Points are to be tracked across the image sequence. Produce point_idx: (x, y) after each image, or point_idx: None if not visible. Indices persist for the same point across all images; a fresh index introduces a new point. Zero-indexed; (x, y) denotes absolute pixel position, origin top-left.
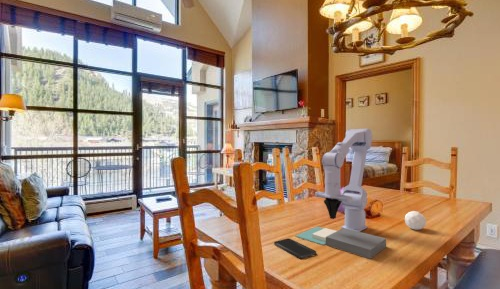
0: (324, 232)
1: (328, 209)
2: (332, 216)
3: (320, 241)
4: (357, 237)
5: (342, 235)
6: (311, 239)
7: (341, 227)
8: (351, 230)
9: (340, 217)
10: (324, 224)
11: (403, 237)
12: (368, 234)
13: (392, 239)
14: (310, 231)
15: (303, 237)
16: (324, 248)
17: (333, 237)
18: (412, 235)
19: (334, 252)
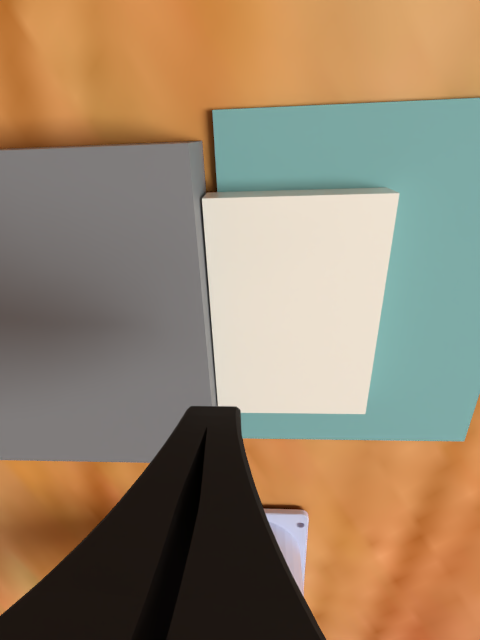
0: (316, 318)
1: (238, 515)
2: (183, 425)
3: (272, 162)
4: (7, 351)
5: (109, 307)
6: (368, 139)
7: (301, 513)
8: (143, 452)
9: (396, 634)
10: (433, 507)
11: (6, 563)
12: (16, 453)
13: (13, 519)
14: (468, 317)
15: (466, 121)
16: (159, 44)
17: (122, 191)
18: (4, 598)
19: (41, 32)
